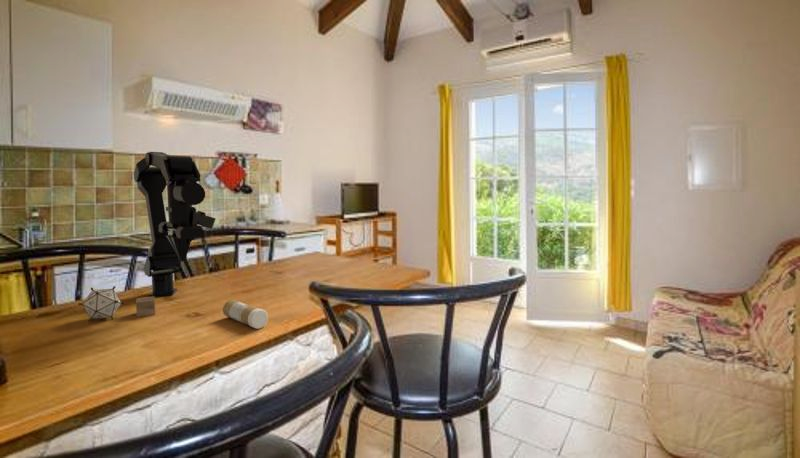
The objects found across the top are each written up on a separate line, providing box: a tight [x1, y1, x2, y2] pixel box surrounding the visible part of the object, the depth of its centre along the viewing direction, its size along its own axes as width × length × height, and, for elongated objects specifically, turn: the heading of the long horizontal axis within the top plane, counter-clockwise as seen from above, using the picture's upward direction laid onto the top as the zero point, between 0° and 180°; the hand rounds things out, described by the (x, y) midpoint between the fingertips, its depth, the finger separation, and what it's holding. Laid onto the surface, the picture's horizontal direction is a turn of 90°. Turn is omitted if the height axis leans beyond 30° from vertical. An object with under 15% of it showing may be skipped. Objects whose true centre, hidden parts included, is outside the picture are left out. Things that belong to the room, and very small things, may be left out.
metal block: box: [135, 296, 156, 318], centre depth 107 cm, size 4×4×4 cm
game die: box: [77, 285, 125, 323], centre depth 103 cm, size 9×8×10 cm
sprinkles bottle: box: [222, 299, 269, 330], centre depth 102 cm, size 5×5×13 cm
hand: (183, 260), depth 112 cm, fingers closed
